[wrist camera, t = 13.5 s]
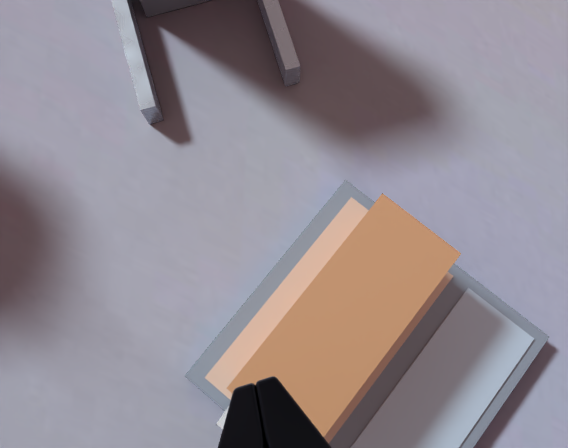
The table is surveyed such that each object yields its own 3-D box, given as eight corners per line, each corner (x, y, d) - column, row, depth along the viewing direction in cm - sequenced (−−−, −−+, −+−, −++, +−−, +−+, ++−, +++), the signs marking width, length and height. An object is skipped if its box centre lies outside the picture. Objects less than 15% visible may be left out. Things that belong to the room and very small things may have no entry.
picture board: (540, 336, 22) (550, 336, 21) (391, 551, 21) (396, 561, 20) (343, 184, 24) (345, 179, 23) (187, 374, 22) (183, 376, 21)
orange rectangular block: (432, 265, 22) (461, 253, 18) (284, 460, 20) (285, 488, 17) (366, 214, 22) (382, 193, 19) (216, 401, 21) (203, 417, 17)
